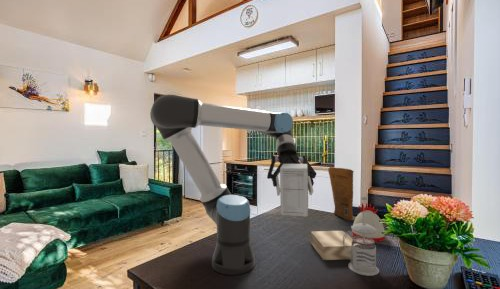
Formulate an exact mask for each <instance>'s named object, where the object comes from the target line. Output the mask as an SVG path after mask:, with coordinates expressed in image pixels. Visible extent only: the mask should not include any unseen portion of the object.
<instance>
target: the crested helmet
mask: <svg viewBox="0 0 500 289" xmlns="http://www.w3.org/2000/svg"><path fill="white" fill-rule="evenodd" d="M358 208H359V211H360V212H359V213H358V214H357V216H355V217H354V218H353V224H352V226H353V225H354V224H358V223H363V211H364V223H365V224H368V225H371V226H373V227H374V228H375V229H376V230H377V232H376V233H374V234H364V237H367V238H371V239H373V240H374V241H375V243H377V242H378V241H379V242H383V241H385V240H384V239H386V234H385V235H384V234H382V233H380V232H382V231H385V227H384V224H383V222H382V223H380V222H379V220H381V218H380V217H379V215H377V212H378V211H379V210H378V209H376V210H375V206H373V207H372V204H371V203H369V207H368V203H367V202H366V203H365V205H364V202H362V203H361V206H360V205H359V204H358ZM351 232H352V233H353V236H352V237H356V236H362V237H363V233H359V232H356V231H353V230H352V229H351ZM382 240H383V241H382Z"/></svg>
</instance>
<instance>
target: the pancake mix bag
mask: <svg viewBox="0 0 500 289" xmlns="http://www.w3.org/2000/svg"><path fill="white" fill-rule="evenodd" d="M327 169H328V170H327V171H328V175H329V180H330V185H331V190H332V191H331V192H332V197H333V198H332V199H333V204H334V210H333V214H334V215H335V216H336V217H339V218H342V219H344V220H346V221H354V218H353V217H354V216H353V214H354V213H353V206H354V205H353V204H354V203H353V202H354V170H353V169H351V168H343V167H333V166H330V167H329V168H327Z"/></svg>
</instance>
